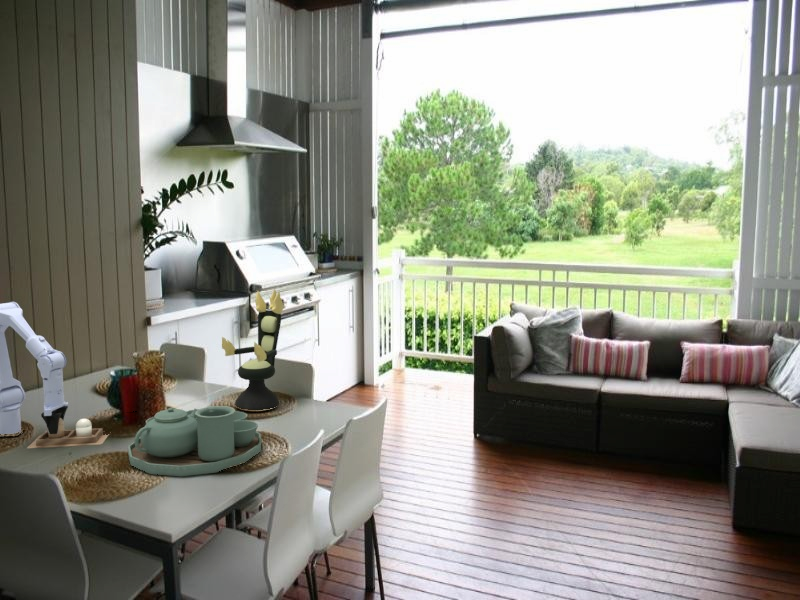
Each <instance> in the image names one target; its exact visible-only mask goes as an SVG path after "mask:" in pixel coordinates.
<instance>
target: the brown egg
mask: <svg viewBox="0 0 800 600" xmlns="http://www.w3.org/2000/svg"><path fill="white" fill-rule="evenodd" d="M64 430H65V422H64V421H63V419H62V418H60V419H59V424H58V432H57V434H50V433H49V431H48V430H47V431H48V438H49V439H57V438H63V437H64Z"/></svg>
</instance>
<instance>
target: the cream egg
mask: <svg viewBox="0 0 800 600" xmlns="http://www.w3.org/2000/svg"><path fill="white" fill-rule="evenodd" d="M92 429H93V427H92V422H91V420H89V419H88V418H80V419H79V420H78V421H77V422H76V423H75V430H76V437H92Z"/></svg>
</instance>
